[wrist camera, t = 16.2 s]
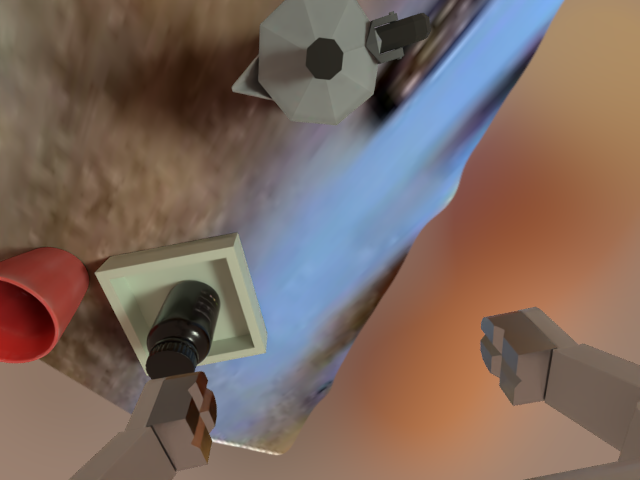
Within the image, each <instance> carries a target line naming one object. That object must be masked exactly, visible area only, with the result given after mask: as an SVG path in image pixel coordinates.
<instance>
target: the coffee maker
mask: <svg viewBox="0 0 640 480" xmlns="http://www.w3.org/2000/svg"><path fill="white" fill-rule="evenodd" d="M396 20H398V18H397V13H395V14H394V11H393V12H390V13H389V15H388V16H385V17H382V18H379V19H375V20H373V21H371V22H370V21H369V20H368V18H367V16H366V15H365V13H364V12H363V10H362V9H361V7H360V5H359V4H358V2H357V1H356V0H285V1H284V2H283V3H282V4H281V5H280V6H279V7H278V8H276V9H275V10H274V11H273V12H272V13H271V14H270V15H269V16H268V17H267V18H266V19H265V20H264V21H263V22H262V23H261V24H260V38H259V54H258V55H257V57H256V58H255V59H254V60H253V61H252V63H251V64H250V65H249V66H248V67H247V69H246V70H245V71H244V72H243V74H242V75H241V76H240V77H239V78H238V80H237V81H236V82H235V83H234V84H233V86H232V87H231V88H232V91H233V92H236V93H241V94H246V95H250V96H255V97H259V98H264V99H269V100H273V101H275V102H276V104H277V105H278V106H279V107H280V108H281V110H282V111H283V112H284V113H285V115H286V116H287V117H288V118H289V119H290V121H298V122H308V123H318V124H328V125H338V124H339V123H340V122H341V121H342V120H343V119H345V118H346V117H347V116H348V115H349V114H351V113H352V112H353V111H354V110H355V109H356V108H358V107H359V106H360V105H361V104H362V103H363V102H365V101H366V100H367V99H368V98H369V97H371V96H372V95H373V94H374V88H375V81H376V75H377V68H378V64H380V63H384V62H387V61H390V60H393V59H396V58H397V60H398V59H401V58H402V56H404V54H403V48H400V47H403V46H406V45H409V44H412V43H415V42H418V41H421V40H424V39H426V38H427V37H428V35H429V33H430V31H431V28H430V21H429V17H428V16H427V15H425V14H424V13H420V14H417V15H414V16H410V17H407V18H404V19H401V20H398V21H396ZM387 23H389V24H387ZM383 24H386V25H383ZM380 25H383V26H380ZM377 26H380V27H378V28H374V27H377ZM393 49H395V50H393ZM390 50H393V51H390ZM387 51H390V52H387ZM384 52H387V53H384ZM381 53H383V54H381Z"/></svg>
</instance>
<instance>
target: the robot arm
mask: <svg viewBox="0 0 640 480" xmlns="http://www.w3.org/2000/svg"><path fill="white" fill-rule="evenodd" d="M481 329H482V330H483V332H484V333H485V336H484V337H483V338H482V339H481V353H482V357H483V360H484V362H485V365H486V367H487V368H488V370H489V371H490V373H492V374H493V375H495V376H497V377H499V378H500V385H499V386H500V387H501V389H502V390H503V392H504V393H505V395H506V396H507V398H508V399H509V401H510V402H511V403H512V405H514V406H515V405H521V404H527V403H533V402H539V401H545V403H547V404H548V405H550V406H551V407H553V408H554V409H556V410H557V411H559V412H561V413H562V414H563V415H565V416H567V417H568V418H570V419H571V420H573V421H574V422H576V423H578V424H579V425H580V426H582V427H584V428H585V429H587V430H588V431H590V432H592V433H593V434H594V435H596V436H597V437H599V438H600V439H602V440H604V441H605V442H607V443H608V444H610V445H611V446H613V447H614V448H616V449H618V450H619V451H621V453H620V456H619V459H618V462H613V463H607V464H602V465H597V466H592V467H588V468H582V469H577V470H571V471H566V472H562V473H556V474H551V475H546V476H540V477H535V478H531V479H525V480H640V365H638V364H635V363H633V362H630V361H627V360H625V359H622V358H620V357H617V356H614V355H612V354H609V353H606V352H604V351H602V350H599V349H596V348H594V347H591V346H589V345H586V344H580V345H578V344H577V343H576V342H575V341H574V340H573V339H572V338H571V337H570V336H569V335H568V334H566V333H565V332H564V331H563V330H562V329H561V328H560V327H559V326H558V325H557V324H556V323H555V322H554V321H552V320H551V319H550V318H549V317H548V316H547V315H546V314H545V313H544V312H543V311H542V310H540V309H539V308H537V307H533V308H528V309H523V310H518V311H514V312H509V313H504V314H499V315H494V316H489V317H484V318H483V320H482V322H481ZM207 383H208V379H207V377H206V375H205V373H204V372H202V371H199V372H193V373H187V374H181V375H175V376H169V377H166V378H159V379H153V380H149V381H148V382H147V383H146V384H145V386H144V388H143V391H142V393H141V395H140V397H139V400H138V402H137V404H136V406H135V409H134V411H133V413H132V415H131V418H130V420H129V422H128V424H127V427H126V429H125V431H124V432H119V433H118V434H117V435H116V436H115V437H114V438H113V439H111V440H110V442H108V443H107V444H106V445H105V446H104V447H103V448H102V449H101V450H100V451H99V452H98V453H97V454H95V456H93V457H92V458H91V459H90V460H89V461H88V462H87V463H86V464H85V465H84V466H83V467H82V468H81V469H80V470H78V471H77V472H76V473H75V475H73V476H72V477H71V478H70V479H69V480H172V479H173V477H174V476H175V475H176V471H180V470H185V469H189V468H194V467H198V466H203V465H207V464H208V460H209V455H210V450H211V445H212V439H211V437H210V435H209V433H210V432H211V430H212V429H213V428H214V427H215V424H216V418H217V405H216V400H215V396H214V394H213V392H212V391H211V390H209V389H207V388H206V387H207Z"/></svg>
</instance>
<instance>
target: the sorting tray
mask: <svg viewBox="0 0 640 480" xmlns="http://www.w3.org/2000/svg"><path fill="white" fill-rule="evenodd" d="M95 275H96V277H97V279H98V281H99V283H100V285H101V287H102V289H103V291H104V293H105V295H106V296H107V298H108V300H109V302H110V304H111V306H112V308H113V310H114V312H115V314H116V316H117V318H118V320H119V322H120V324H121V326H122V328H123V330H124V332H125V334H126V336H127V338H128V340H129V342H130V344H131V346H132V347H133V349H134V351H135V353H136V355H137V357H138V359H139V361H140V363H141V365H142V367H143V369H144V371H145V373H146V375H147V376H148V374H147V371H146V366H145V365H146V361H147V359H148V356H149V352H148V349H147V344H146V341H147V336H148V333H149V331H150V329H151V327H152V325H153V323H154V321H155V319H156V317H157V315H158V313H159V311H160V309H161V307H162V305H163V303H164V301H165V299H166V297H167V295H168V293H169V291H170V290H171V289H172V288H173V287H174V286H176V285H177V284H179V283H181V282H184V281H200V282H203V283H206V284H208V285H209V286H211V287H212V288H213V289H214V290H215V291H216V292H217V294H218V295H219V298H220V302H221V306H220V312H219V316H218V320H217V324H216V328H215V333H214V337H213V341H212V345H211V348H210V351H209V354H208V355H207V357H206V358H205V359H204V360H203V361H202V362H201V363H199V364H198V365H197V366H200V365H205V364H210V363H216V362H221V361H226V360H231V359H236V358H242V357H247V356H252V355H257V354H262V353H266V344H267V331H266V327H265V324H264V320H263V317H262V314H261V310H260V307H259V303H258V300H257V296H256V293H255V290H254V286H253V283H252V279H251V276H250V273H249V269H248V266H247V262H246V259H245V256H244V252H243V249H242V245H241V242H240V239H239V235H238V232H237V233H232V234H227V235H221V236H216V237H211V238H206V239H200V240H195V241H190V242H184V243H179V244H174V245H169V246H163V247H158V248H153V249H148V250H142V251H137V252H132V253H126V254H121V255H116V256H111V257H109V258H108V259H107V260H106V261H105V262H104V263H103V264H102V266H101V267H100V268H99V269H98V270H97V271H96V272H95Z"/></svg>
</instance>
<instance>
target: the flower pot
mask: <svg viewBox="0 0 640 480" xmlns="http://www.w3.org/2000/svg"><path fill="white" fill-rule="evenodd" d="M88 286H89V275H88V272H87V270H86V268H85V266H84V265H83V263H82V262H81V261H80V260H79V259H78V258H77V257H75V256H74V255H72V254H71V253H69V252H67V251H64V250H61V249H57V248H52V247H43V248H38V249H34V250H32V251H29V252H26V253H23V254H20V255H17V256H15V257H12V258H9V259H6V260H4V261H1V262H0V362H6V363H25V362H30V361H34V360H37V359H39V358H41V357H43V356H45V355H46V354H48V353H49V352H50V351H51V350H52V349H53V348H54V347H55V345H56V344H57V342H58V341H59V339H60V337H61V336H62V334H63V332H64V331H65V329H66V327H67V326H68V324H69V322H70V320H71V319H72V317H73V315H74V313H75V312H76V310H77V308H78V306H79V305H80V303H81V301H82V299H83V297H84V295H85V293H86V291H87V289H88Z"/></svg>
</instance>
